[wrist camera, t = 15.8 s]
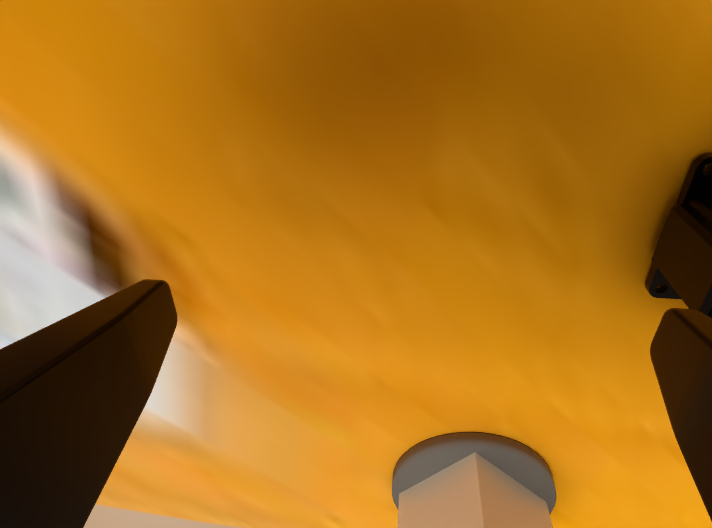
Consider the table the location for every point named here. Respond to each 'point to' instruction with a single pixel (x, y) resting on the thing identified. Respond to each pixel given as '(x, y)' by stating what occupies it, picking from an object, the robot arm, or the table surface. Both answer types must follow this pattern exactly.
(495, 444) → the gray disc
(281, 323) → the table surface
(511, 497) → the rubber stamp
